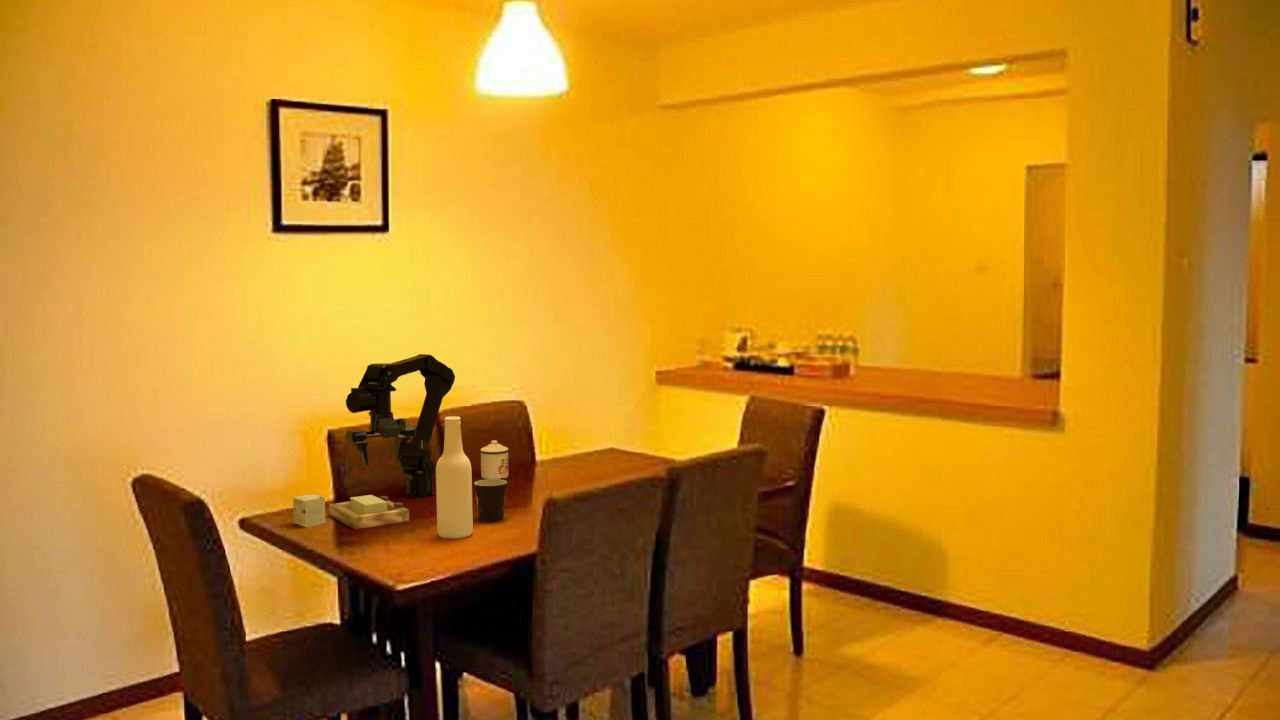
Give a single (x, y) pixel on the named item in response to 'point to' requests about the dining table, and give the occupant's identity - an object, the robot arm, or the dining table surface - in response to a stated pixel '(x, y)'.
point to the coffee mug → (490, 499)
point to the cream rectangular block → (367, 505)
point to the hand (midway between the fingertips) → (382, 463)
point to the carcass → (369, 515)
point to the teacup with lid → (494, 461)
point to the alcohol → (454, 485)
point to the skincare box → (309, 510)
